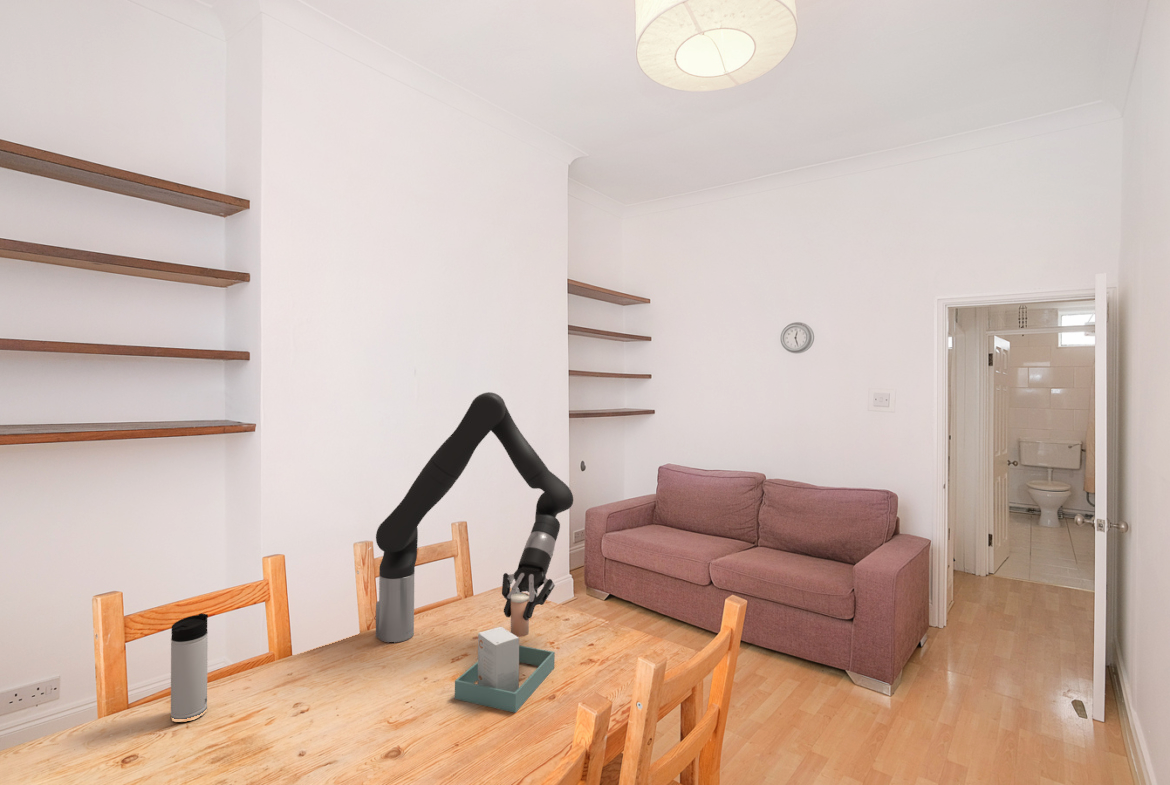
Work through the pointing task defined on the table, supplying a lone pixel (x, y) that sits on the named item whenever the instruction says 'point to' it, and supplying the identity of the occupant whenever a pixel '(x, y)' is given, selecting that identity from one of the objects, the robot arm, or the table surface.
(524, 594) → the jar
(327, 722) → the table surface
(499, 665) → the small box
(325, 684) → the table surface
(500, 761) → the table surface
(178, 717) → the travel mug
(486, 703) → the tray
